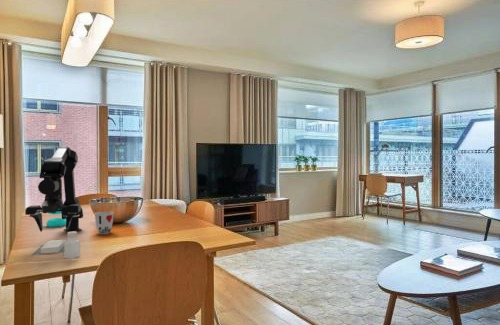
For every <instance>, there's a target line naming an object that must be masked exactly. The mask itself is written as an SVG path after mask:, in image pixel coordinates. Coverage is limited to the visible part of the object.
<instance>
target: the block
mask: <svg viewBox="0 0 500 325" xmlns="http://www.w3.org/2000/svg"><path fill="white" fill-rule="evenodd" d="M65 242H66V239H55V240H52V239H51V240H48V241H47V242H46V243H45V244H43V245H44V246H43V247H42V248H41V254H40V255H45V254H46V253H51V254H59V253H58V252H59V251H60V250H61V249H62V248H63V247H64V243H65ZM46 255H47V254H46Z"/></svg>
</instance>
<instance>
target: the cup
mask: <svg viewBox="0 0 500 325" xmlns="http://www.w3.org/2000/svg"><path fill="white" fill-rule="evenodd" d="M94 217H95V218H94V219H95V226H96V229H97V234H100V235H107V234H110V233H111V231H112V228H113V223H114V211H97V212H95V213H94Z"/></svg>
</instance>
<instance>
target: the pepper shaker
mask: <svg viewBox="0 0 500 325" xmlns="http://www.w3.org/2000/svg"><path fill="white" fill-rule="evenodd" d="M66 233H67V235H66V236H67V237H66V238H67V240H65V243H64V249H65V253H64V258H65V259H69V260H74V259H77V258H79V257H81V241H80V240H78V232H77V231H72V232H66Z"/></svg>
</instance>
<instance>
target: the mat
mask: <svg viewBox="0 0 500 325" xmlns="http://www.w3.org/2000/svg"><path fill="white" fill-rule="evenodd" d="M44 245H45V244H43V245H41V246H40V247H38V248H37V249H36V250H35V251H34V252H33V253H31V255H32V256H33V255H42V254H41V248H42V247H43V246H44ZM60 253H61V254H62V253H64V254H65V249H64V247H63V248H62V249H61V250H60V251H59V252H58V253H57V254H60ZM47 254H51V255H52V253H46V255H47Z"/></svg>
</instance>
